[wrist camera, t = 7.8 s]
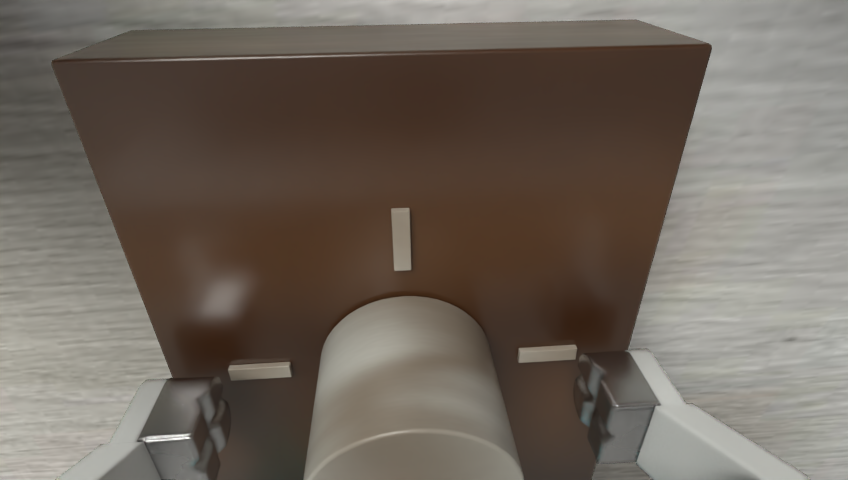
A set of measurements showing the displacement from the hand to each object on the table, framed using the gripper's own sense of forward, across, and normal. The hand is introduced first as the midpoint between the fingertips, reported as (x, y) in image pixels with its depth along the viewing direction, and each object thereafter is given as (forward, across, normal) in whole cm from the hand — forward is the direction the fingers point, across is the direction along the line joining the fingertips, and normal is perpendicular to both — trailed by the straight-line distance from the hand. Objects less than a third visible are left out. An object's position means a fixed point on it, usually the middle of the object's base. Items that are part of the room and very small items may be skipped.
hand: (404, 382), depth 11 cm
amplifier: (+4, 0, 0) cm, 4 cm away
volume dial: (+1, 0, 0) cm, 1 cm away
